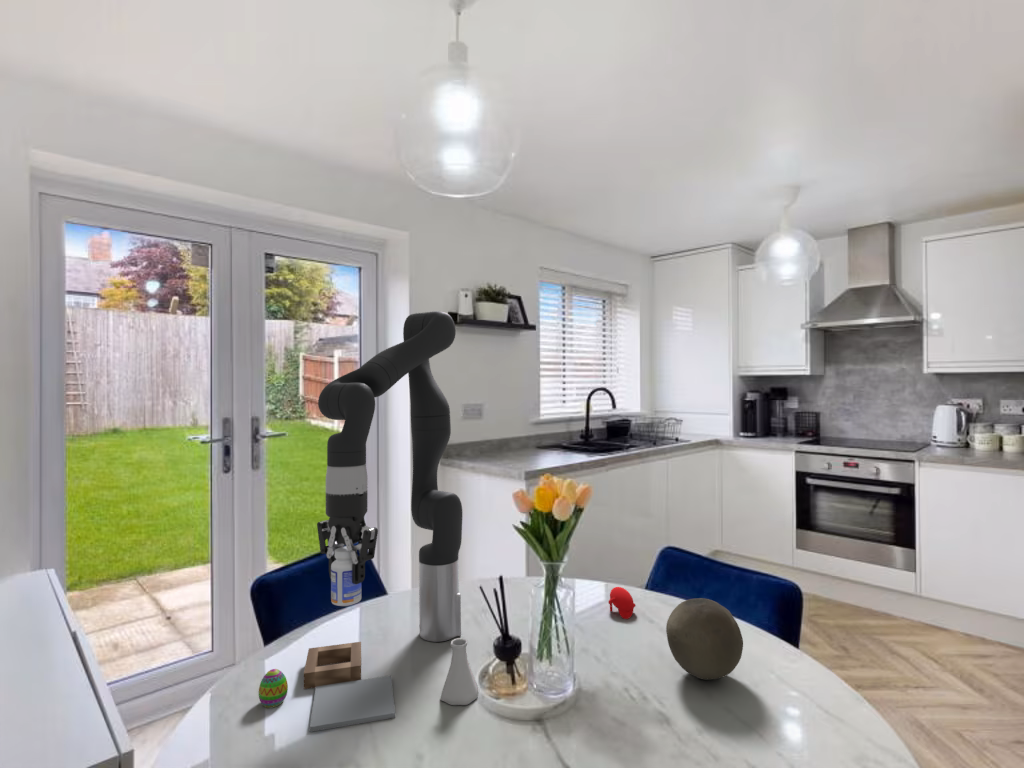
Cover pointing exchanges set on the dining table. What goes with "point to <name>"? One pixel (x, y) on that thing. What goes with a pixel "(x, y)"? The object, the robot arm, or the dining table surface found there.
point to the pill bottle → (343, 580)
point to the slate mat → (352, 703)
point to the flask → (459, 677)
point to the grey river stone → (704, 638)
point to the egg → (273, 688)
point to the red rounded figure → (622, 602)
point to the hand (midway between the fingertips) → (346, 579)
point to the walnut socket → (332, 672)
